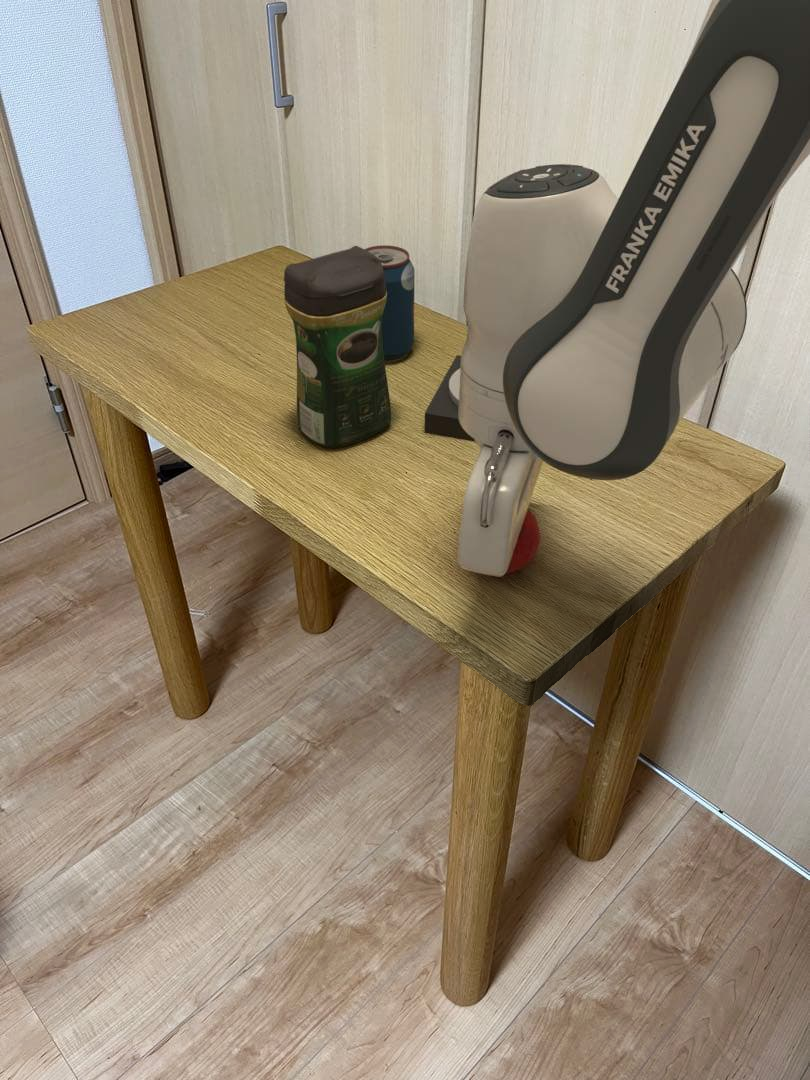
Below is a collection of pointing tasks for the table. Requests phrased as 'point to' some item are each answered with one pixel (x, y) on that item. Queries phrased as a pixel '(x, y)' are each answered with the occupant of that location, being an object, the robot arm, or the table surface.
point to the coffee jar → (339, 346)
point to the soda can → (397, 301)
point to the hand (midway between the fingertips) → (504, 541)
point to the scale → (446, 406)
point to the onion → (525, 543)
